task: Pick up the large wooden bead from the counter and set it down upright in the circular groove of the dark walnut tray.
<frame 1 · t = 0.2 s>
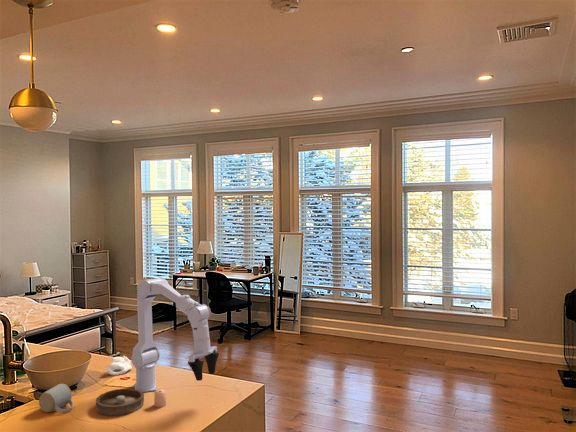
hand: (205, 376, 161), 10 cm above the kitchen island, tool pointing down, fingers open, 7 cm apart
groove tray: (120, 406, 160), on the kitchen island
ceramic mug: (58, 409, 157), on the kitchen island
bead: (160, 405, 161), on the kitchen island
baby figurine: (120, 372, 195), on the kitchen island
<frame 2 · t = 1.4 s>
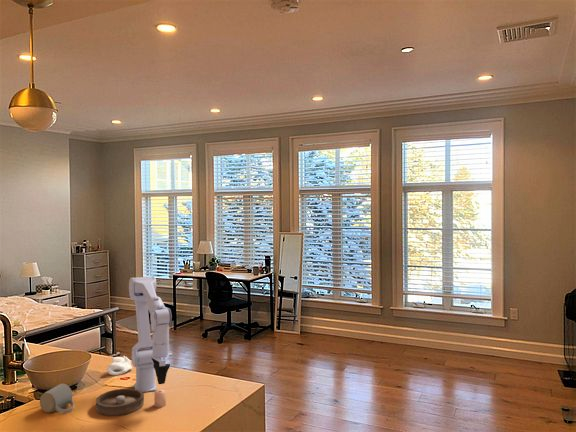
hand: (160, 379, 161), 9 cm above the kitchen island, tool pointing down, fingers open, 7 cm apart
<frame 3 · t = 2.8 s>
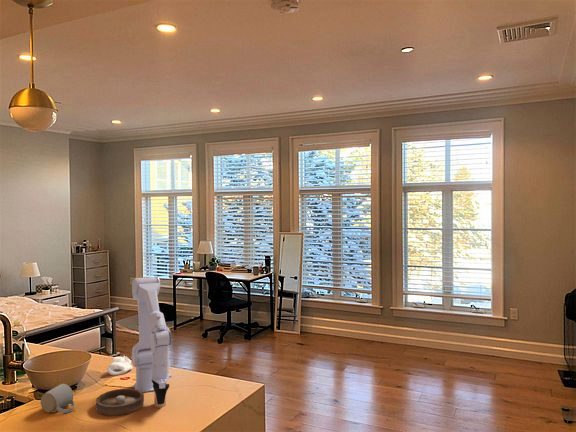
hand: (160, 401, 161), 1 cm above the kitchen island, tool pointing down, fingers closed on bead, 4 cm apart
bead: (160, 405, 161), on the kitchen island, touching gripper
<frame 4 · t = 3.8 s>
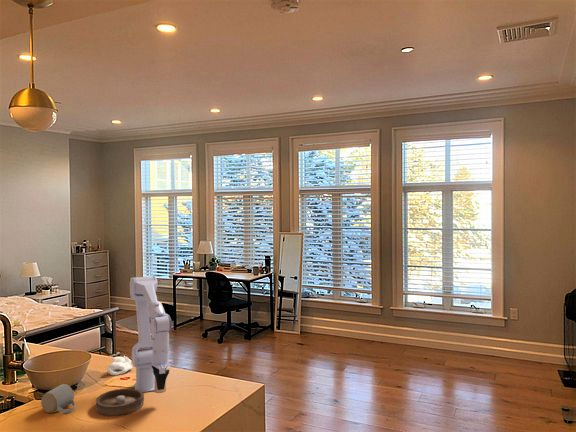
hand: (160, 387, 161), 7 cm above the kitchen island, tool pointing down, fingers closed on bead, 4 cm apart
bead: (160, 390, 161), point 5 cm above the kitchen island, touching gripper
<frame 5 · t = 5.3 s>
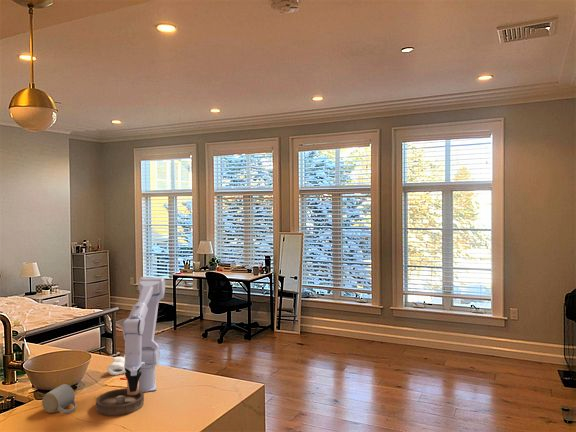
hand: (132, 389, 161), 6 cm above the kitchen island, tool pointing down, fingers closed on bead, 4 cm apart
bead: (132, 393, 161), point 4 cm above the kitchen island, touching gripper
when the fingers open (4 cm above the kitchen island, at t = 6.0 s): bead drops 1 cm, resting on groove tray.
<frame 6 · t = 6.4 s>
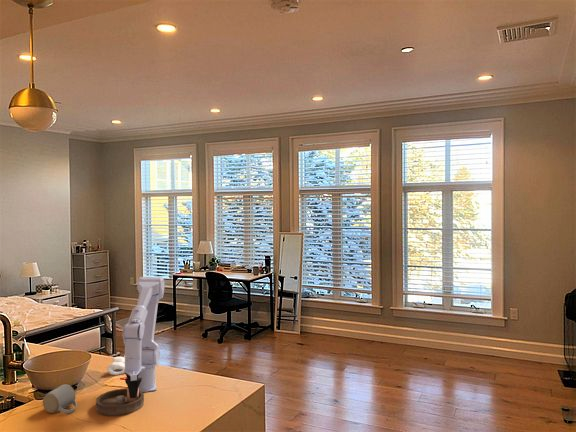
hand: (132, 393, 161), 4 cm above the kitchen island, tool pointing down, fingers open, 7 cm apart
bead: (132, 401, 161), point 1 cm above the kitchen island, touching groove tray
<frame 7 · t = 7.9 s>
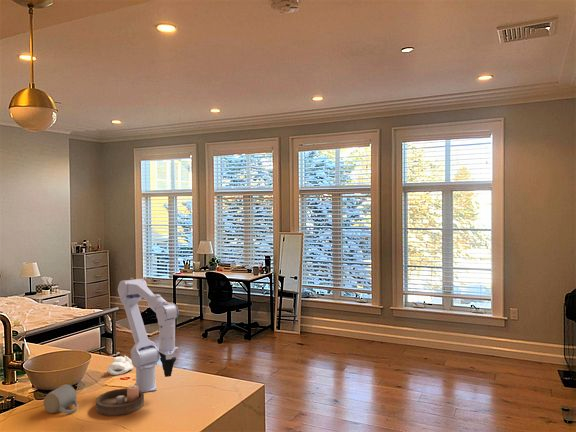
hand: (166, 372, 167), 9 cm above the kitchen island, tool pointing down, fingers open, 7 cm apart
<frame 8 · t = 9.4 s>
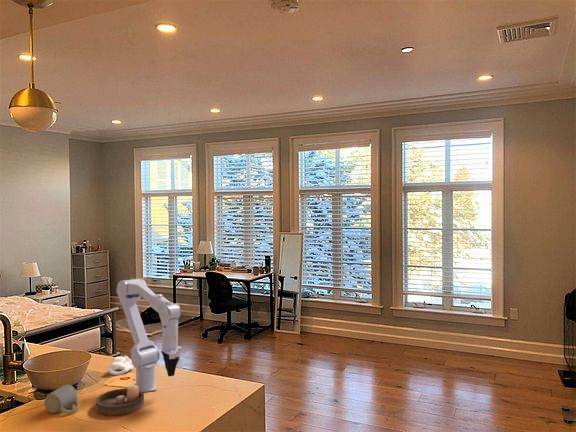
hand: (169, 372, 168), 9 cm above the kitchen island, tool pointing down, fingers open, 7 cm apart
at the end: bead 0.0 cm from the target spot on the groove tray, point 1.2 cm above the groove tray's base; bead tilted 0°; the gripper is holding nothing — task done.
